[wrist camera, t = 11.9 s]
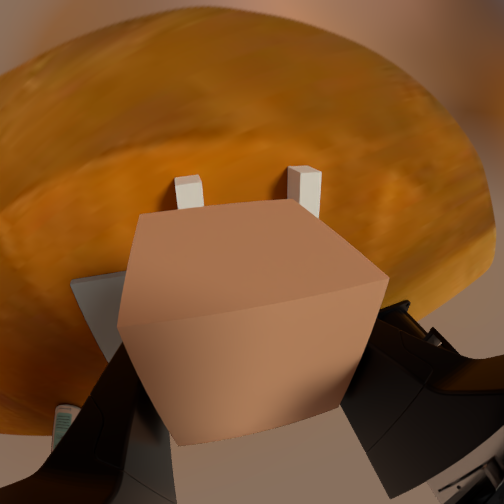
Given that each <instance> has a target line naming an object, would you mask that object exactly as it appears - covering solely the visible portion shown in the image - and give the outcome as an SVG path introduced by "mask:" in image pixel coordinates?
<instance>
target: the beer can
mask: <svg viewBox="0 0 504 504" xmlns="http://www.w3.org/2000/svg"><path fill="white" fill-rule="evenodd" d="M80 410H81V408H79V407H77V406H74V405H69V404H64V405H59V406H57V407H56V410H55V417H54V425H53V434H52V446H51V447H52V448H51V452H52V451H53V450H54V448H55V447H56V445H57V444H58V443H59V441H60V440H61V438H62V437H63V436H64V434H65V433H66V431H67V430H68V428H69V427H70V425H71V424H72V422H73V421H74V420H75V418H76V416H77V415H78V413H79V411H80Z"/></svg>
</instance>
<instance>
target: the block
mask: <svg viewBox="0 0 504 504" xmlns="http://www.w3.org/2000/svg"><path fill="white" fill-rule="evenodd" d="M388 281H389V277H388V276H387V275H386V274H384V273H383V272H382V271H381V270H380V269H379V268H378V267H376V266H375V265H374V264H373V263H372V262H371V261H369V260H368V259H367V258H366V257H365V256H364V255H362V254H361V253H360V252H359V251H358V250H356V249H355V248H354V247H353V246H352V245H350V244H349V243H348V242H347V241H346V240H344V239H343V238H342V237H341V236H340V235H338V234H337V233H336V232H335V231H333V230H332V229H331V228H330V227H328V226H327V225H326V224H325V223H323V222H322V221H321V220H320V219H318V218H317V217H316V216H314V215H313V214H312V213H311V212H309V211H308V210H307V209H305V208H304V207H303V206H301V205H300V204H299V203H297V202H296V201H295V200H293V199H280V200H267V201H255V202H243V203H232V204H222V205H213V206H203V207H194V208H186V209H177V210H169V211H162V212H154V213H147V214H140V216H139V220H138V224H137V228H136V232H135V236H134V240H133V244H132V248H131V252H130V257H129V261H128V266H127V271H126V276H125V281H124V286H123V291H122V297H121V303H120V309H119V315H118V322H117V329H118V331H119V334H120V336H121V339H122V341H123V343H124V346H125V348H126V350H127V353H128V355H129V357H130V359H131V361H132V364H133V366H134V368H135V370H136V372H137V374H138V376H139V378H140V380H141V382H142V384H143V386H144V388H145V390H146V392H147V394H148V396H149V398H150V399H151V401H152V403H153V405H154V407H155V409H156V410H157V412H158V414H159V416H160V417H161V419H162V421H163V422H164V424H165V426H166V427H167V429H168V431H169V432H170V434H171V436H172V437H173V439H174V440H175V442H176V444H177V445H178V446H186V445H194V444H202V443H208V442H214V441H220V440H225V439H231V438H236V437H240V436H245V435H250V434H254V433H258V432H262V431H266V430H270V429H274V428H278V427H281V426H284V425H288V424H291V423H295V422H297V421H301V420H304V419H307V418H310V417H313V416H316V415H319V414H322V413H325V412H327V411H330V410H332V409H335V408H338V407H339V405H340V403H341V401H342V399H343V396H344V394H345V392H346V390H347V388H348V386H349V384H350V382H351V380H352V377H353V375H354V373H355V371H356V368H357V366H358V364H359V361H360V359H361V357H362V354H363V352H364V349H365V347H366V344H367V342H368V339H369V337H370V334H371V332H372V329H373V326H374V323H375V321H376V318H377V315H378V312H379V309H380V306H381V303H382V300H383V297H384V294H385V291H386V288H387V285H388Z"/></svg>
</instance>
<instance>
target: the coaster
mask: <svg viewBox="0 0 504 504" xmlns="http://www.w3.org/2000/svg"><path fill="white" fill-rule="evenodd" d="M125 276H126V271H122V272H116V273H110V274H104V275H98V276H91V277H85V278H79V279H73V280H72V281H71V283H70V286H71V288H72V291H73V293H74V295H75V298H76V300H77V302H78V304H79V307H80V309H81V311H82V313H83V315H84V317H85V320H86V322H87V324H88V326H89V328H90V330H91V332H92V334H93V336H94V338H95V339H96V341H97V343H98V345H99V347H100V349H101V351H102V352H103V354H104V356H105V358H106V359H107V361H108V363H109V362H110V360H111V359H112V357H113V355H114V354H115V352H116V351H117V349H118V348H119V346H120V344H121V343H122V339H121V336H120V334H119V331H118V329H117V322H118V315H119V309H120V303H121V297H122V291H123V286H124V281H125Z"/></svg>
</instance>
